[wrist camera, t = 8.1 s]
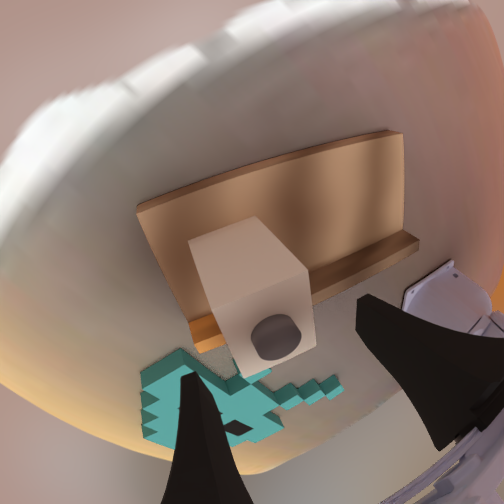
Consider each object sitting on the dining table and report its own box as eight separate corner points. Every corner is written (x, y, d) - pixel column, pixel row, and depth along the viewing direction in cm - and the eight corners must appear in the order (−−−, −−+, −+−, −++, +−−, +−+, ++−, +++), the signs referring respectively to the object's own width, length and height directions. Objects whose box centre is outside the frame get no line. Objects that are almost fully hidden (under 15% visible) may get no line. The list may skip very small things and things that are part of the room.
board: (388, 130, 18) (423, 138, 15) (390, 232, 23) (418, 250, 20) (137, 205, 15) (135, 229, 12) (190, 318, 20) (199, 353, 17)
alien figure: (274, 281, 21) (93, 395, 21) (286, 298, 20) (92, 414, 19) (335, 378, 33) (209, 448, 32) (344, 390, 31) (214, 461, 30)
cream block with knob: (255, 215, 16) (318, 280, 10) (271, 283, 19) (324, 356, 13) (187, 240, 15) (216, 324, 10) (214, 306, 18) (249, 391, 12)
